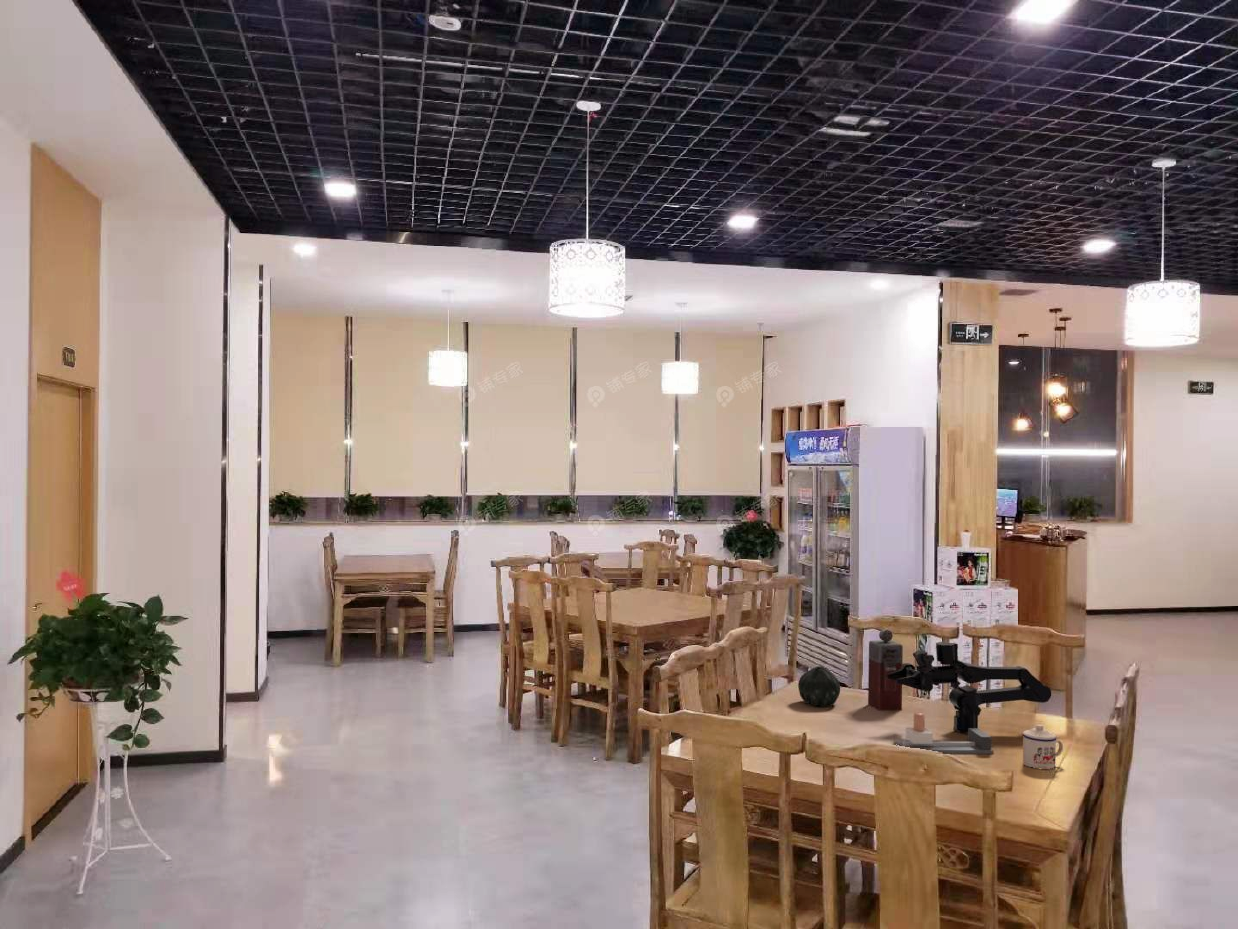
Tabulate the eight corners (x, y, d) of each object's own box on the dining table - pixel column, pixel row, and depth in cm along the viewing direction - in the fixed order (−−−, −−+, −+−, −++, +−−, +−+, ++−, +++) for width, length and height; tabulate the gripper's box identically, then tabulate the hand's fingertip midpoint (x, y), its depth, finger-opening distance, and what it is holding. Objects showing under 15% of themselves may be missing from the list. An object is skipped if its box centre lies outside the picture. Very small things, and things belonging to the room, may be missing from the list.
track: (979, 744, 296) (979, 728, 296) (993, 753, 286) (993, 737, 286) (894, 743, 295) (894, 727, 295) (904, 753, 285) (905, 736, 285)
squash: (820, 682, 357) (804, 655, 350) (853, 691, 345) (837, 663, 338) (800, 711, 350) (784, 684, 343) (833, 721, 339) (817, 693, 332)
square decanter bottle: (881, 712, 334) (883, 632, 334) (867, 704, 345) (868, 627, 345) (905, 711, 336) (906, 632, 336) (890, 704, 347) (891, 627, 347)
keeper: (924, 738, 293) (925, 711, 294) (932, 744, 287) (932, 716, 287) (905, 737, 293) (906, 711, 293) (912, 743, 287) (913, 716, 287)
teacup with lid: (1034, 771, 270) (1035, 730, 270) (1015, 761, 279) (1016, 721, 279) (1072, 769, 272) (1072, 728, 272) (1052, 759, 281) (1052, 720, 281)
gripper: (925, 646, 320) (880, 649, 319) (948, 654, 301) (900, 658, 300) (927, 679, 320) (882, 683, 318) (951, 689, 301) (903, 693, 300)
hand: (891, 678), depth 309 cm, fingers open, 9 cm apart
